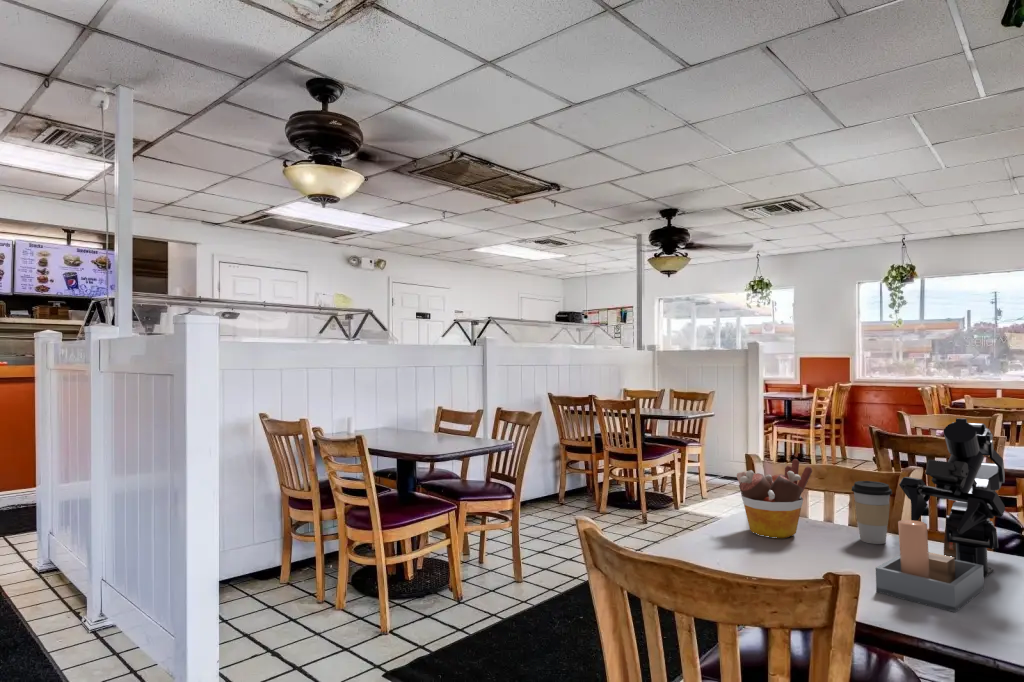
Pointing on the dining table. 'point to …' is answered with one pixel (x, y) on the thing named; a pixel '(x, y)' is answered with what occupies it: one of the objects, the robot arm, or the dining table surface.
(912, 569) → the cylinder
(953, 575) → the cube
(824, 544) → the dining table surface
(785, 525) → the bucket of meat
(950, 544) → the tin
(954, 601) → the tote
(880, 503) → the coffee cup
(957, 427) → the robot arm
